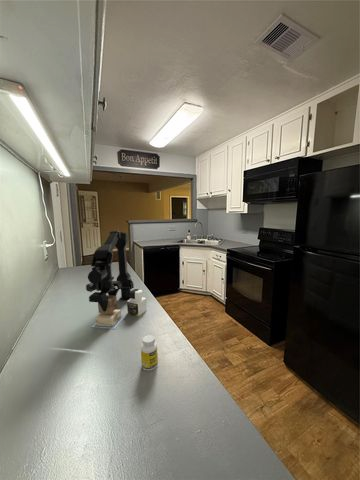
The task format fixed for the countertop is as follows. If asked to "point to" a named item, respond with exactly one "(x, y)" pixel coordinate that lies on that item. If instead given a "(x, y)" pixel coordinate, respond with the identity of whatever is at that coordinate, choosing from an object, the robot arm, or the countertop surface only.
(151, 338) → the supplement bottle
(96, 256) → the robot arm
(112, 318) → the maple slab
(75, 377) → the countertop surface
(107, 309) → the walnut cube
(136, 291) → the medicine bottle
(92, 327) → the blueprint board
